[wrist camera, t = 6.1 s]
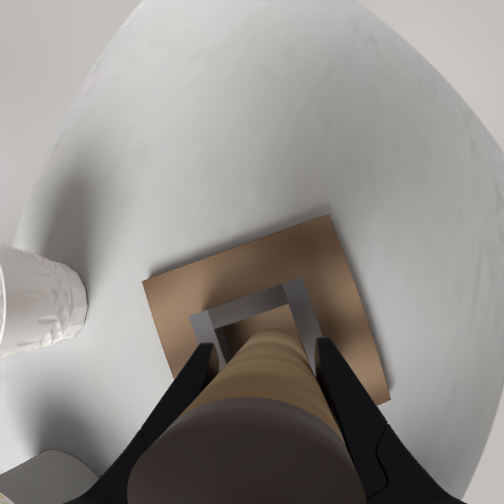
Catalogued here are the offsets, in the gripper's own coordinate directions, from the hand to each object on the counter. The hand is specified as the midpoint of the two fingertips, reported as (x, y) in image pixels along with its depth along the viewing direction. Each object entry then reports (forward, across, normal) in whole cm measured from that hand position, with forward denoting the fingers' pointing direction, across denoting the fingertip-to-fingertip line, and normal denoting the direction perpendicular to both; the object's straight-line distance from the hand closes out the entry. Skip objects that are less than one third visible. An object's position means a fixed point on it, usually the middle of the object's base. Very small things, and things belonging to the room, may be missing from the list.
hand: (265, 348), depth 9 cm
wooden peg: (+4, 0, +6) cm, 7 cm away
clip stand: (+8, +1, +10) cm, 13 cm away
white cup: (+10, +18, +8) cm, 22 cm away
